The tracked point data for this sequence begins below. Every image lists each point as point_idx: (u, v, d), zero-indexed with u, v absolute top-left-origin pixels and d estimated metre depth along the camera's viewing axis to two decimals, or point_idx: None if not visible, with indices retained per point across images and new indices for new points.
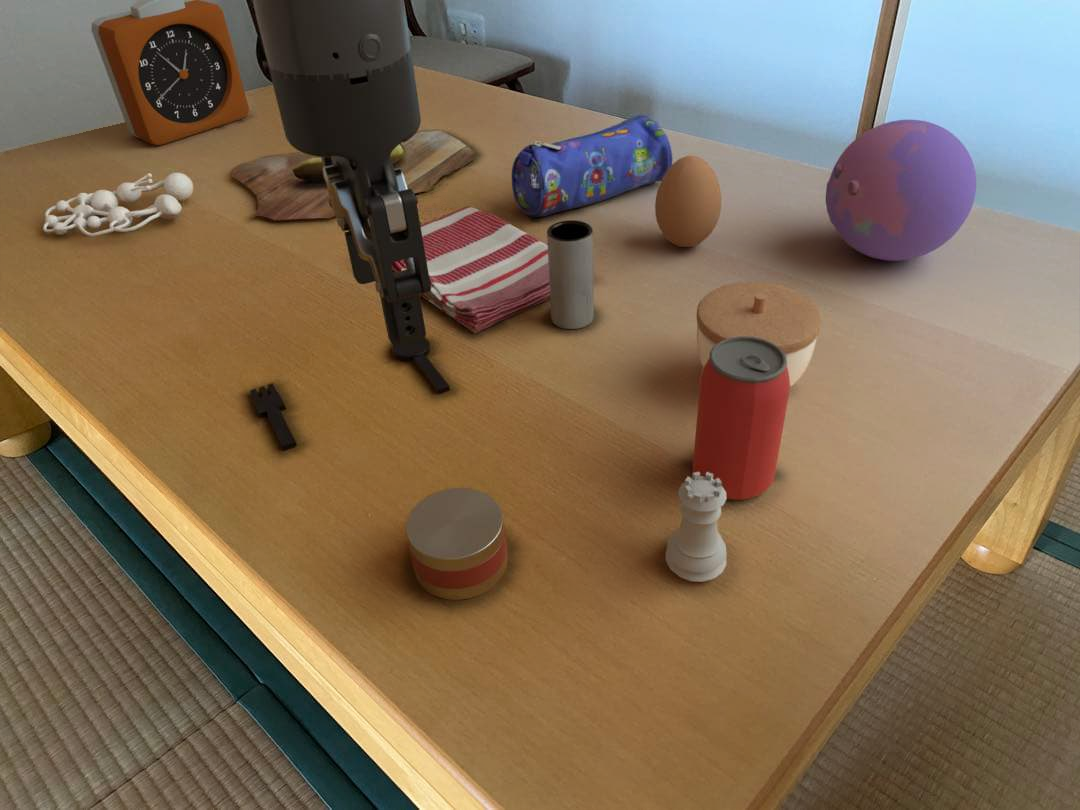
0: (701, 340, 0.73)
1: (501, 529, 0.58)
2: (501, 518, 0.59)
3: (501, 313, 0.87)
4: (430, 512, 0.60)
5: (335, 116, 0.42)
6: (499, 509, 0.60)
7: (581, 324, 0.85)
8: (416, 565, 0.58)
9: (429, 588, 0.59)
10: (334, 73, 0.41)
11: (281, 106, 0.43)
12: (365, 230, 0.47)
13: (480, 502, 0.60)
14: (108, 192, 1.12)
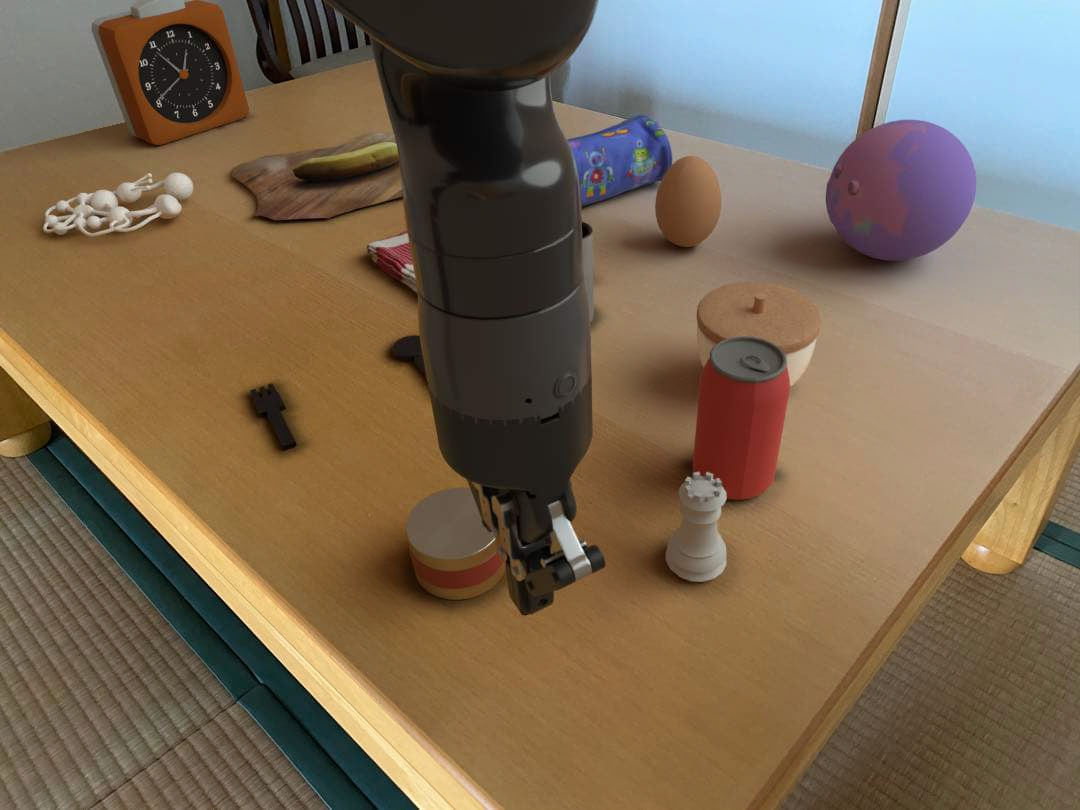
0: (701, 340, 0.73)
1: None
2: None
3: None
4: (430, 512, 0.60)
5: (519, 455, 0.36)
6: None
7: None
8: (416, 565, 0.58)
9: (429, 588, 0.59)
10: (523, 416, 0.34)
11: (447, 436, 0.37)
12: (528, 541, 0.41)
13: None
14: (108, 192, 1.12)
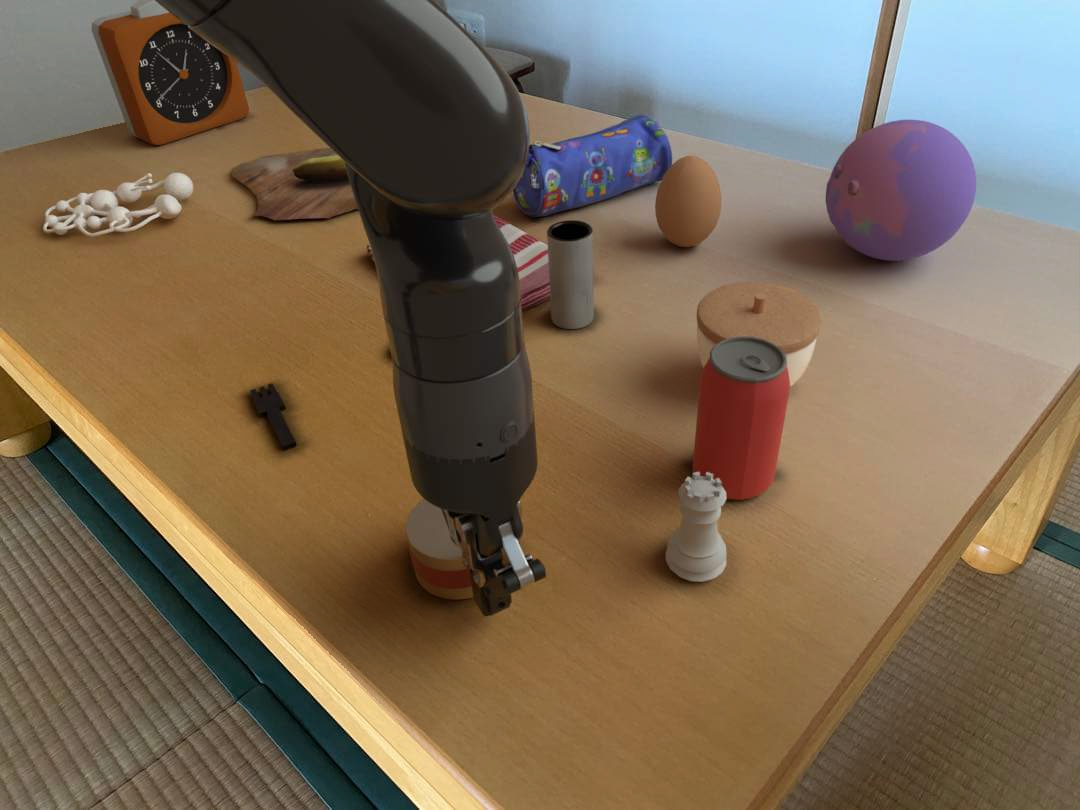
0: (701, 340, 0.73)
1: None
2: None
3: None
4: (430, 512, 0.60)
5: (473, 487, 0.44)
6: None
7: (581, 324, 0.85)
8: (416, 565, 0.59)
9: (429, 588, 0.59)
10: (475, 456, 0.43)
11: (416, 470, 0.45)
12: (485, 555, 0.50)
13: None
14: (108, 192, 1.12)
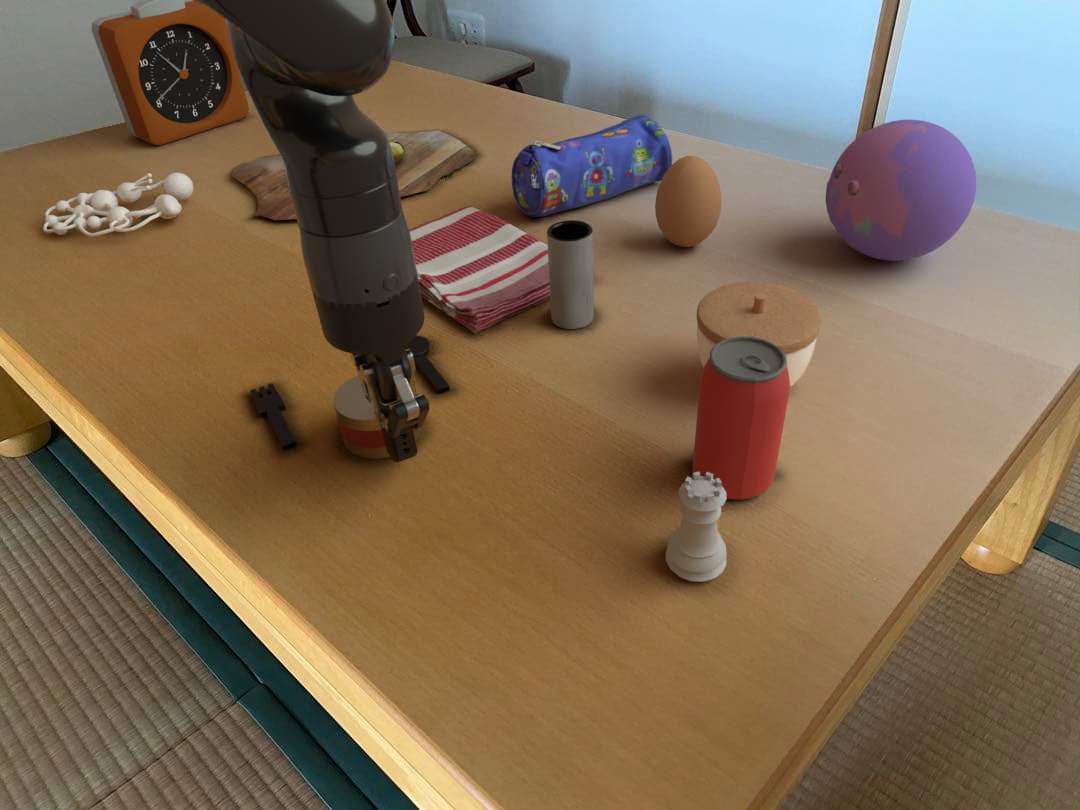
0: (701, 340, 0.73)
1: None
2: None
3: (501, 313, 0.87)
4: (354, 388, 0.72)
5: (365, 329, 0.57)
6: None
7: (581, 324, 0.85)
8: (342, 430, 0.71)
9: (354, 450, 0.71)
10: (365, 302, 0.55)
11: (322, 319, 0.58)
12: (385, 397, 0.62)
13: None
14: (108, 192, 1.12)
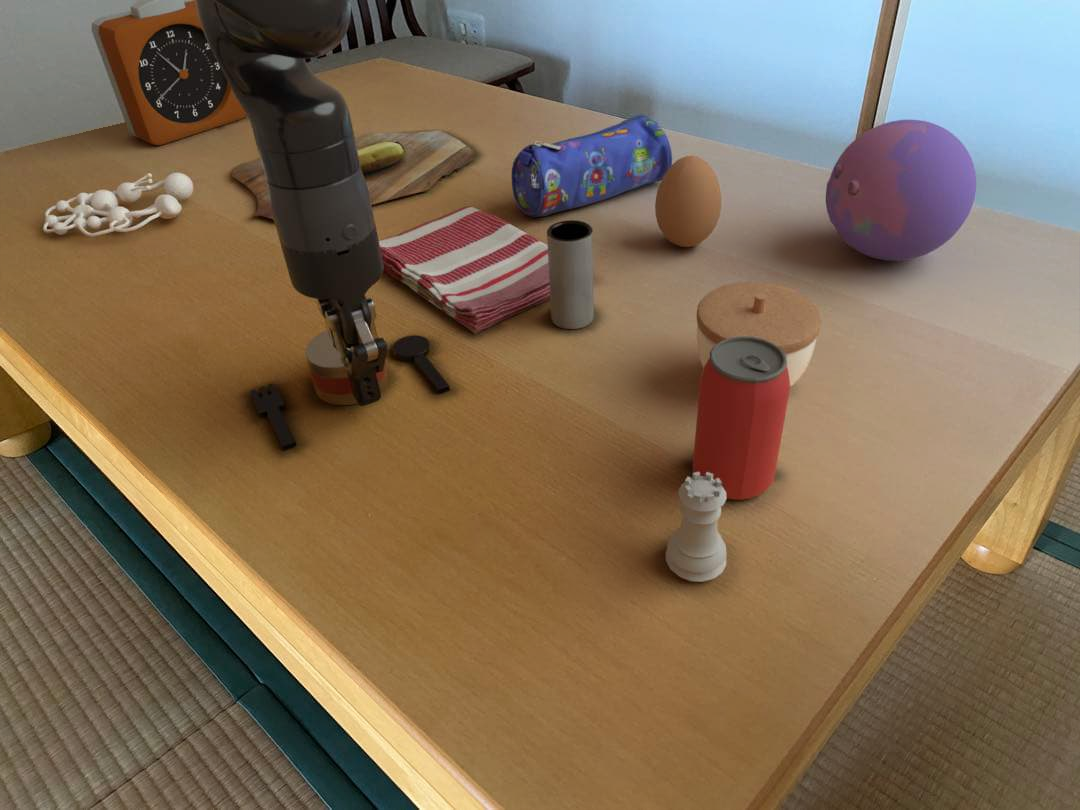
0: (701, 340, 0.73)
1: None
2: None
3: (501, 313, 0.87)
4: (325, 340, 0.78)
5: (328, 275, 0.63)
6: None
7: (581, 324, 0.85)
8: (313, 378, 0.77)
9: (324, 397, 0.78)
10: (326, 250, 0.62)
11: (289, 267, 0.64)
12: (348, 342, 0.68)
13: None
14: (108, 192, 1.12)
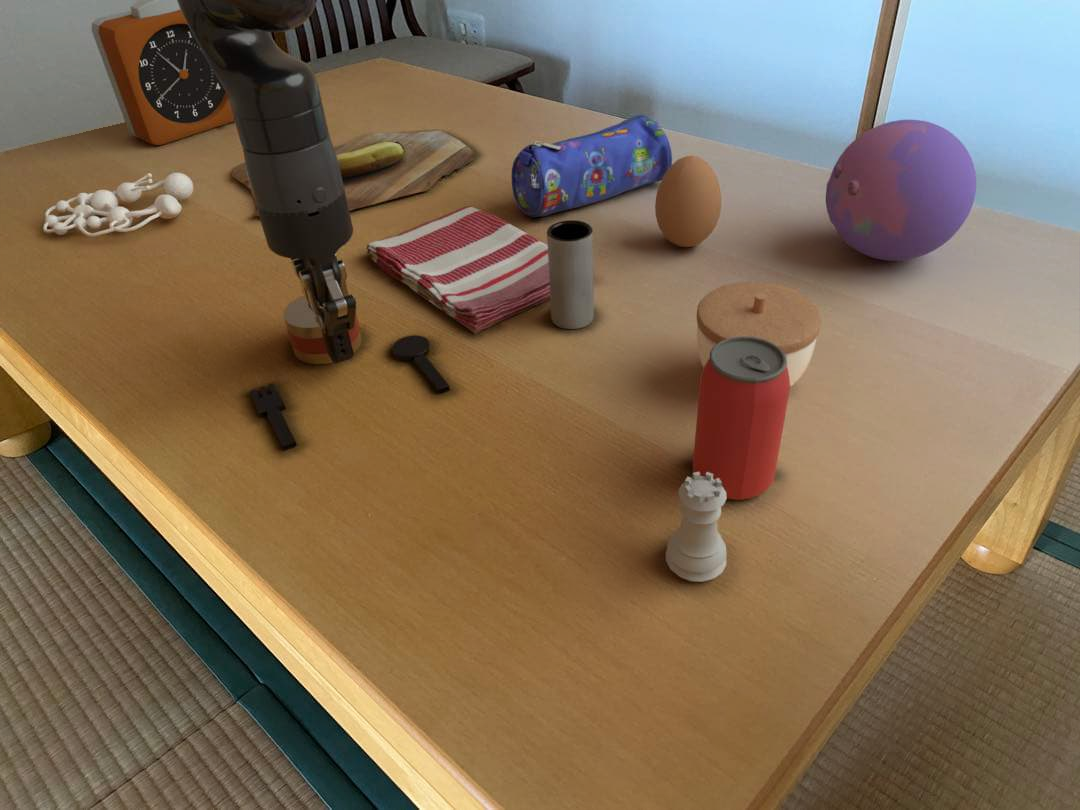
0: (701, 340, 0.73)
1: None
2: None
3: (501, 313, 0.87)
4: (302, 304, 0.84)
5: (300, 235, 0.68)
6: None
7: (581, 324, 0.85)
8: (291, 339, 0.82)
9: (301, 357, 0.83)
10: (298, 211, 0.67)
11: (265, 229, 0.69)
12: (321, 300, 0.74)
13: None
14: (108, 192, 1.12)
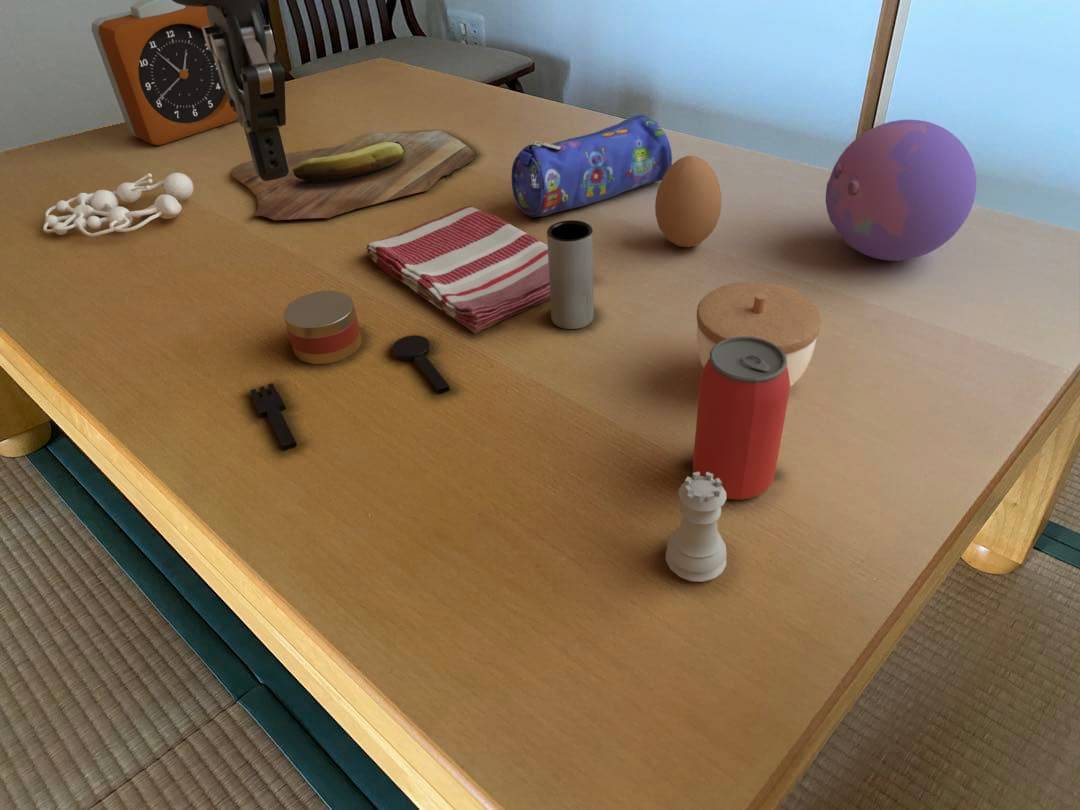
0: (701, 340, 0.73)
1: (351, 312, 0.82)
2: (352, 305, 0.83)
3: (501, 313, 0.87)
4: (302, 304, 0.84)
5: None
6: (351, 300, 0.84)
7: (581, 324, 0.85)
8: (291, 339, 0.82)
9: (302, 357, 0.83)
10: None
11: None
12: (240, 77, 0.56)
13: (339, 297, 0.84)
14: (108, 192, 1.12)
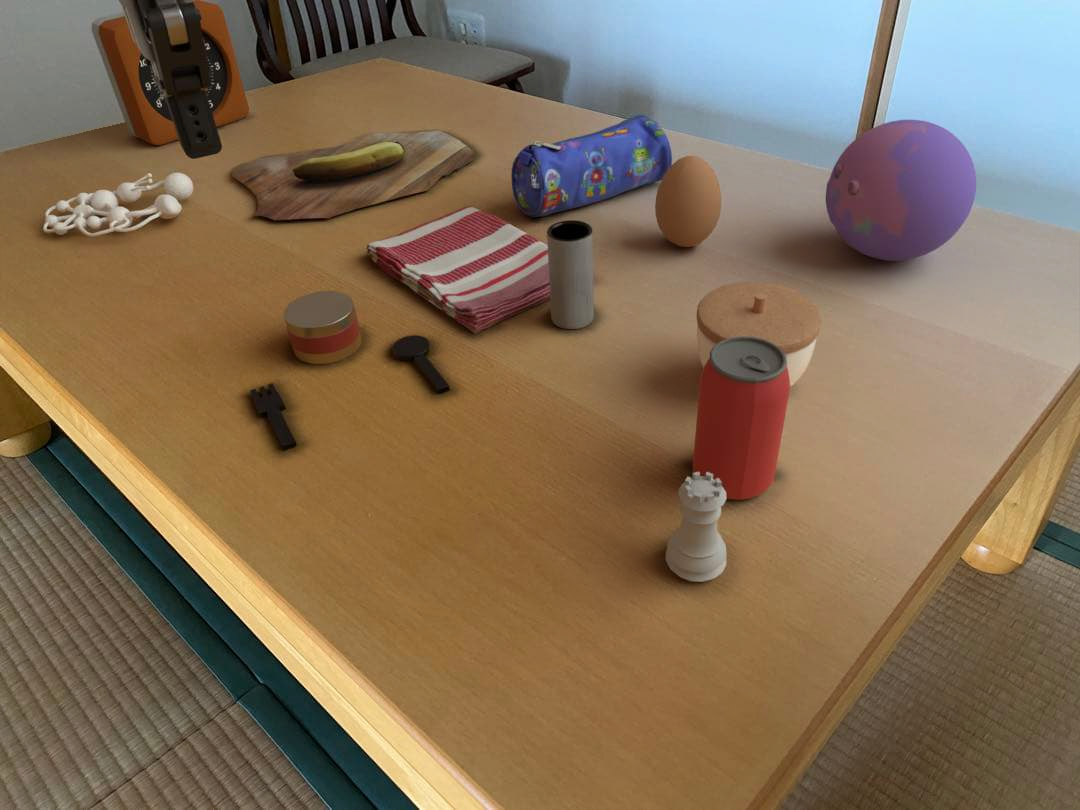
0: (701, 340, 0.73)
1: (351, 312, 0.82)
2: (352, 305, 0.83)
3: (501, 313, 0.87)
4: (302, 304, 0.84)
5: None
6: (351, 300, 0.84)
7: (581, 324, 0.85)
8: (291, 339, 0.82)
9: (302, 357, 0.83)
10: None
11: None
12: None
13: (339, 297, 0.84)
14: (108, 192, 1.12)
